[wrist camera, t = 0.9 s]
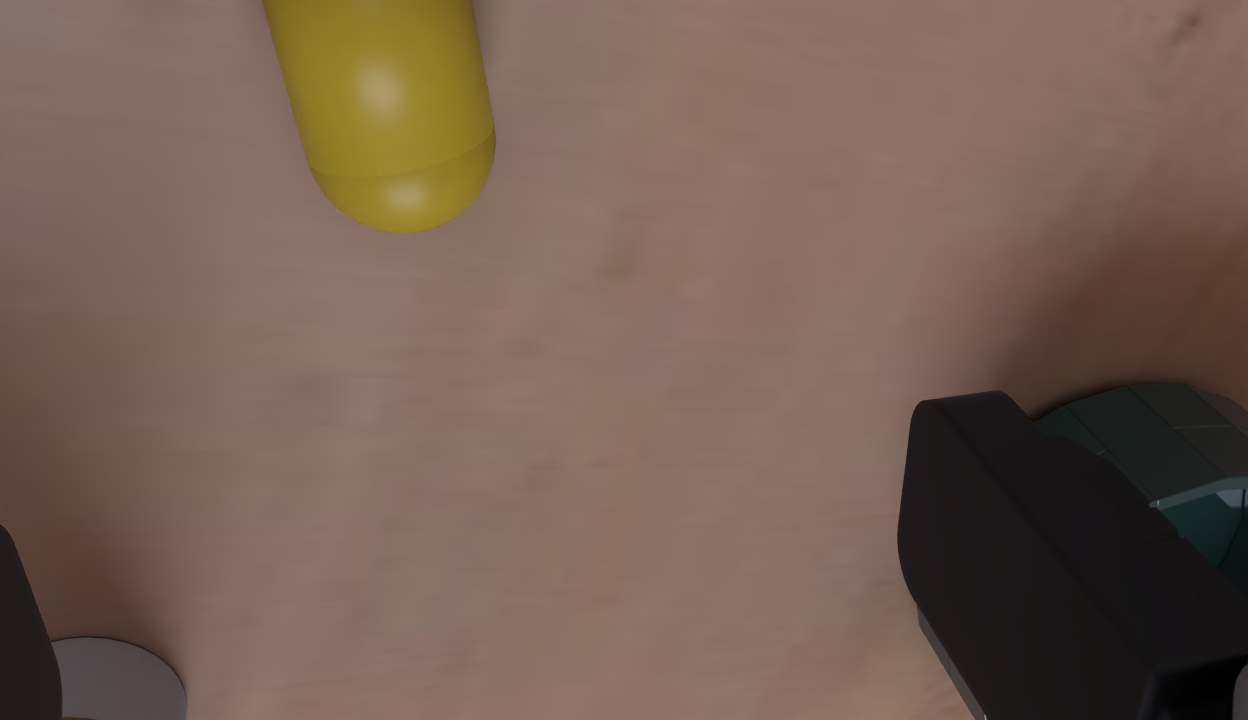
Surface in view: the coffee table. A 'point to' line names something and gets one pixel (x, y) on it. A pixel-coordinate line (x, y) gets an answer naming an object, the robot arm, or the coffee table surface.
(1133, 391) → the teal round dish
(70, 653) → the coffee cup
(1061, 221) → the coffee table surface
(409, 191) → the capsule
